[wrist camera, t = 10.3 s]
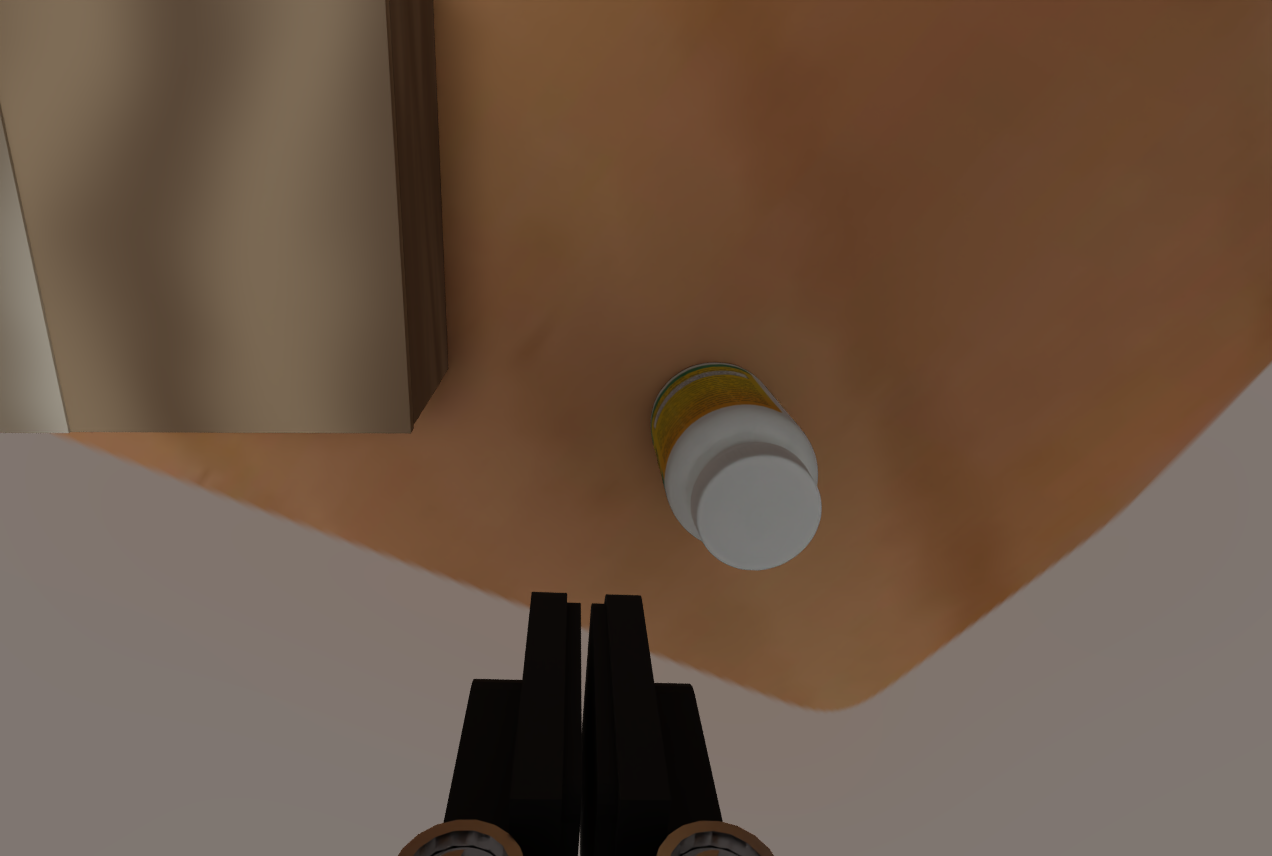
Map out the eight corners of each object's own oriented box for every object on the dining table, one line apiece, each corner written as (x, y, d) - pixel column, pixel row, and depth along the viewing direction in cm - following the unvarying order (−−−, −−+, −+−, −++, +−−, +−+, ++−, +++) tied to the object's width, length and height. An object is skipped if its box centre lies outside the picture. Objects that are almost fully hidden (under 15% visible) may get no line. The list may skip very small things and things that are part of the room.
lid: (383, -86, 20) (378, -94, 19) (413, 428, 24) (410, 434, 24) (-132, -126, 18) (-154, -134, 18) (2, 426, 23) (-11, 432, 23)
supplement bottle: (796, 412, 33) (880, 506, 24) (712, 499, 34) (761, 621, 25) (707, 332, 31) (761, 400, 22) (621, 425, 32) (640, 526, 23)
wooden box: (432, -20, 27) (384, -81, 20) (448, 369, 31) (414, 423, 24) (68, -43, 26) (-109, -115, 19) (140, 363, 30) (18, 418, 23)
